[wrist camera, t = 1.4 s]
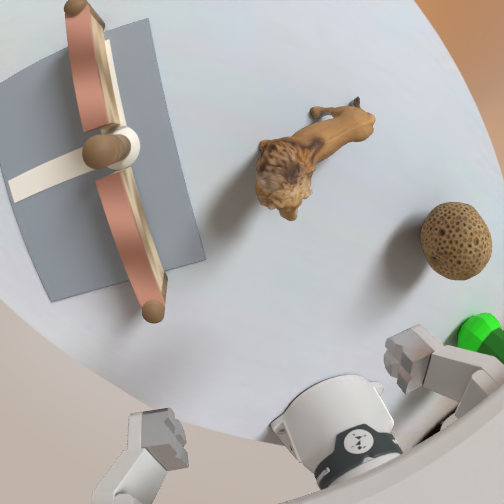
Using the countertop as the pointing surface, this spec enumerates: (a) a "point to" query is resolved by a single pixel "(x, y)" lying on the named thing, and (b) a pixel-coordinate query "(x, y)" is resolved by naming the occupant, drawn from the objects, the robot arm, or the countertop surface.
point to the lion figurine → (306, 156)
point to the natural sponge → (456, 241)
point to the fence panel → (134, 241)
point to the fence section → (93, 85)
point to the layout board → (83, 177)
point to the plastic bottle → (482, 336)
